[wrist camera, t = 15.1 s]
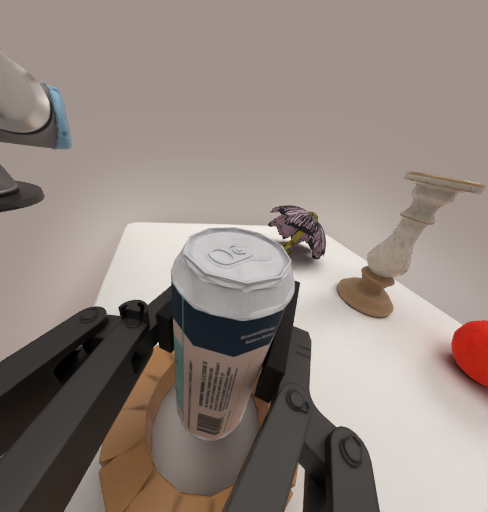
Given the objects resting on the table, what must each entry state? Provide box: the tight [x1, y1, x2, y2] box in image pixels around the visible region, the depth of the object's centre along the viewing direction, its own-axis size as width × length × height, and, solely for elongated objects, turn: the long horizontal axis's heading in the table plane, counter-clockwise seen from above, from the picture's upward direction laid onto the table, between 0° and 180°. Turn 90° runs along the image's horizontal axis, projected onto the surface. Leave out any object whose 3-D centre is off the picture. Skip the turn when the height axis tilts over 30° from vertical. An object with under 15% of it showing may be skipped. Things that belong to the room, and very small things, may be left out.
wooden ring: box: [99, 345, 298, 512], centre depth 14 cm, size 13×13×4 cm
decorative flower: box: [268, 206, 326, 259], centre depth 41 cm, size 14×12×15 cm
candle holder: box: [337, 171, 486, 317], centre depth 28 cm, size 9×9×20 cm
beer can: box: [171, 227, 295, 441], centre depth 10 cm, size 5×5×12 cm
